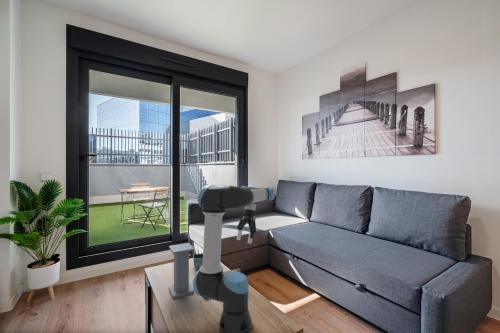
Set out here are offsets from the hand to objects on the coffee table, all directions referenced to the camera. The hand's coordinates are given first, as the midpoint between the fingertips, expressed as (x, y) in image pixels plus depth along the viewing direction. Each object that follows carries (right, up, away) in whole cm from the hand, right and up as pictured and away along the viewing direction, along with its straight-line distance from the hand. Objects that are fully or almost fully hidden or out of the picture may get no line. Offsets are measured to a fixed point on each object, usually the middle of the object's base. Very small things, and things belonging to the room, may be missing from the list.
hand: (243, 241), depth 152 cm
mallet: (-13, -24, -2) cm, 28 cm away
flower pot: (-33, -24, +15) cm, 44 cm away
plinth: (-37, -24, -16) cm, 47 cm away
